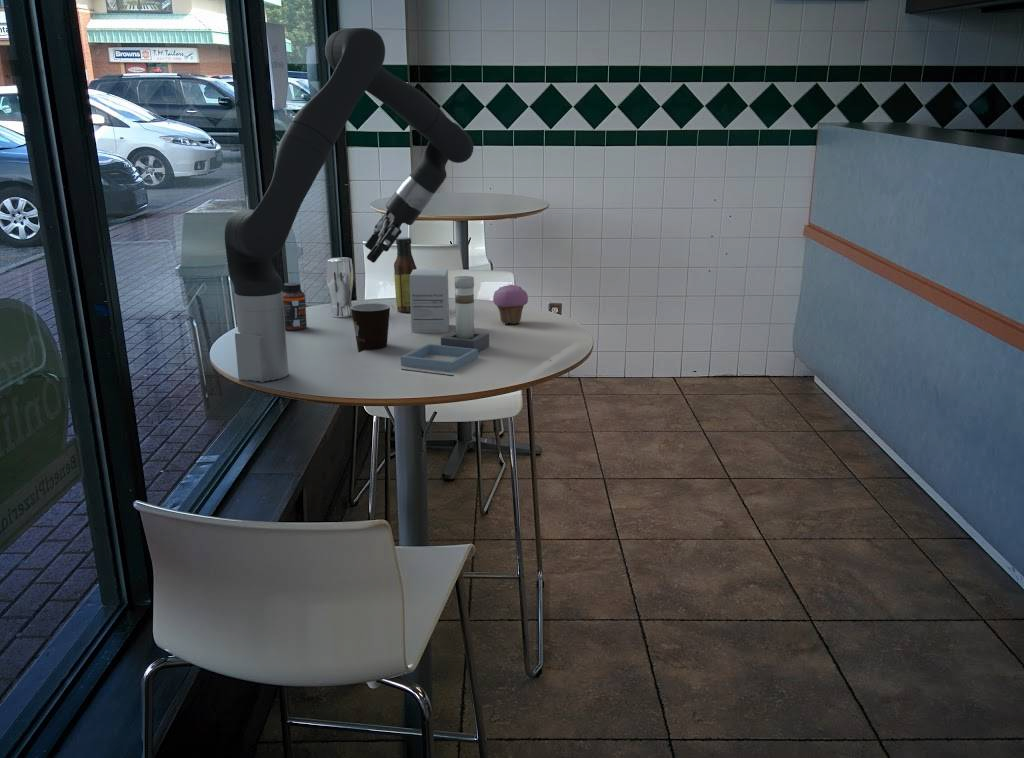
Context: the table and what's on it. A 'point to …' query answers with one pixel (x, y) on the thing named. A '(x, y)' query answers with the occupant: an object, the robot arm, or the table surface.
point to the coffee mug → (371, 325)
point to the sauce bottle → (403, 273)
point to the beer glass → (340, 285)
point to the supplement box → (429, 300)
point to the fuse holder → (467, 341)
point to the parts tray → (417, 361)
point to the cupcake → (510, 303)
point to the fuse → (464, 306)
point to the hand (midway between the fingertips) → (369, 254)
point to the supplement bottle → (294, 307)
